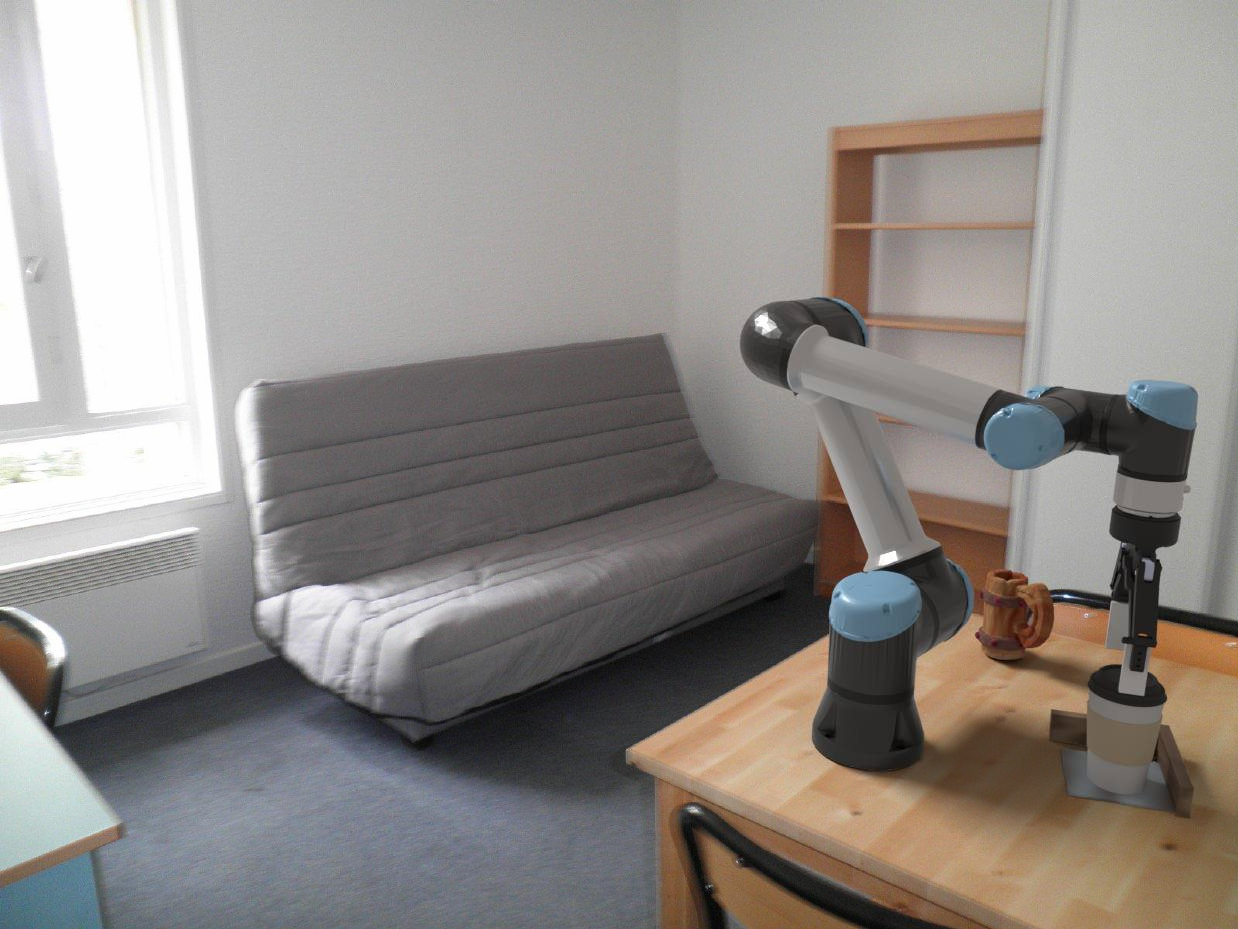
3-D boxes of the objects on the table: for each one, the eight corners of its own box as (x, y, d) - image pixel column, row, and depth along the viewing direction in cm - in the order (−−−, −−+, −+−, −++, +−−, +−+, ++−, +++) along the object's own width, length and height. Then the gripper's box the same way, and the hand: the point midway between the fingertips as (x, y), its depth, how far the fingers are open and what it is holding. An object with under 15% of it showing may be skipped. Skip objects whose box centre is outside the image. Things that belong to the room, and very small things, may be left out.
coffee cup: (1142, 766, 132) (1156, 660, 128) (1165, 803, 123) (1180, 691, 120) (1070, 759, 134) (1081, 654, 130) (1086, 795, 125) (1099, 684, 122)
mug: (963, 647, 171) (970, 564, 167) (1003, 641, 173) (1010, 559, 170) (1021, 683, 157) (1029, 592, 154) (1063, 676, 160) (1073, 587, 156)
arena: (1057, 796, 125) (1060, 767, 124) (1048, 735, 141) (1051, 709, 140) (1189, 818, 120) (1194, 788, 120) (1165, 752, 136) (1169, 725, 135)
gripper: (1203, 542, 108) (1174, 719, 113) (1163, 487, 131) (1141, 637, 136) (1127, 534, 111) (1102, 708, 116) (1101, 481, 134) (1081, 629, 139)
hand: (1123, 670), depth 126 cm, fingers open, 13 cm apart
